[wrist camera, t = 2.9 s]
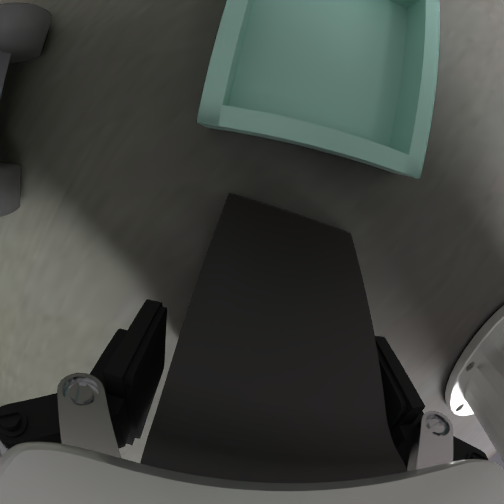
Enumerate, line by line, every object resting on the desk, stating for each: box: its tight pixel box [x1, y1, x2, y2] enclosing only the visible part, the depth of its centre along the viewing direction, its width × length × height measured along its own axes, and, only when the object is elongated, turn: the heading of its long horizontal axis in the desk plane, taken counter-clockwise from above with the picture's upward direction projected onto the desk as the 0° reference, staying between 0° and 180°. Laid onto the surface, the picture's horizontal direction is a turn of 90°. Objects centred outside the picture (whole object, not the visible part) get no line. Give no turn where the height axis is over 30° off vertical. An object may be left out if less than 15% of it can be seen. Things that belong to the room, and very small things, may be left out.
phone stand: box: [140, 193, 407, 483], centre depth 9 cm, size 9×6×12 cm, turn 162°
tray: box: [196, 0, 440, 179], centre depth 10 cm, size 9×10×3 cm
